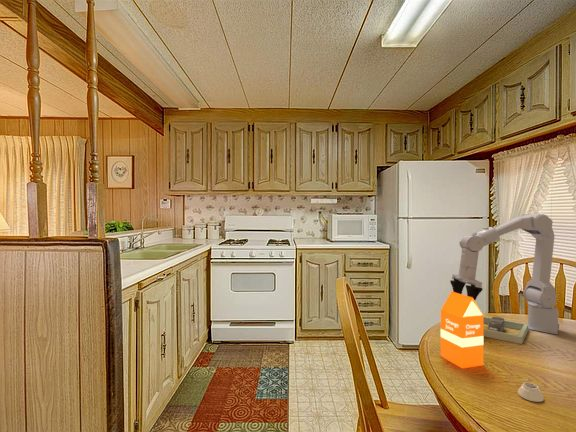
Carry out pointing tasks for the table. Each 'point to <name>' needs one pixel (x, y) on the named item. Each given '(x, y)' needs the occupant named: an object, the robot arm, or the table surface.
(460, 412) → the table surface
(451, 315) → the orange juice
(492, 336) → the sage frame
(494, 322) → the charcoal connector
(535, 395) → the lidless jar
